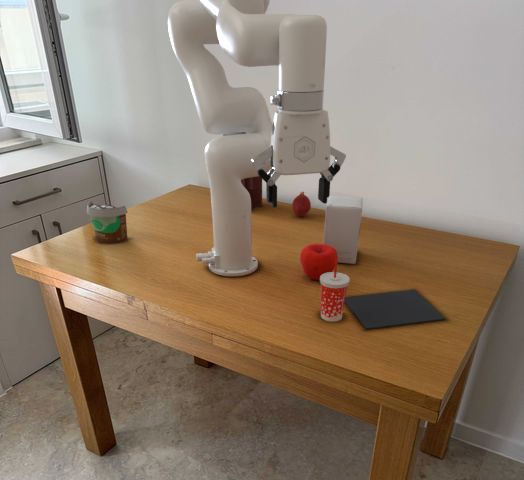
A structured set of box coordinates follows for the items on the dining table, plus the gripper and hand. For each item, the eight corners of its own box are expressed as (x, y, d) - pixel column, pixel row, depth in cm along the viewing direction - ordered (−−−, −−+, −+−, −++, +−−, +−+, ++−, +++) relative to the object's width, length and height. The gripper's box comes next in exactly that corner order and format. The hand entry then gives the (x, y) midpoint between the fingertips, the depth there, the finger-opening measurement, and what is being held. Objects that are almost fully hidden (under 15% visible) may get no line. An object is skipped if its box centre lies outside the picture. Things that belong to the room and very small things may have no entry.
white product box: (356, 264, 133) (362, 207, 125) (321, 262, 134) (325, 205, 126) (357, 251, 140) (363, 196, 132) (325, 249, 142) (328, 194, 133)
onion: (310, 220, 161) (312, 194, 157) (292, 219, 162) (293, 194, 157) (309, 213, 166) (310, 189, 162) (291, 213, 166) (292, 189, 162)
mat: (365, 329, 106) (366, 328, 105) (342, 299, 117) (342, 297, 117) (444, 320, 109) (445, 318, 109) (414, 290, 120) (414, 289, 120)
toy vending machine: (249, 213, 167) (248, 120, 151) (225, 206, 173) (221, 116, 157) (267, 207, 172) (268, 116, 157) (243, 200, 178) (241, 112, 163)
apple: (309, 288, 122) (311, 257, 117) (293, 273, 128) (294, 244, 124) (342, 281, 125) (345, 251, 120) (324, 267, 131) (326, 238, 127)
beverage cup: (329, 306, 114) (334, 247, 106) (351, 316, 110) (358, 255, 103) (311, 316, 110) (315, 255, 103) (333, 326, 107) (339, 264, 99)
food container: (82, 241, 146) (75, 206, 141) (96, 234, 151) (90, 200, 146) (119, 247, 143) (113, 212, 137) (131, 239, 147) (126, 205, 142)
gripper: (256, 107, 82) (257, 213, 91) (357, 103, 85) (348, 205, 94) (245, 101, 88) (248, 201, 97) (340, 97, 91) (334, 194, 100)
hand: (297, 203), depth 96 cm, fingers open, 9 cm apart
